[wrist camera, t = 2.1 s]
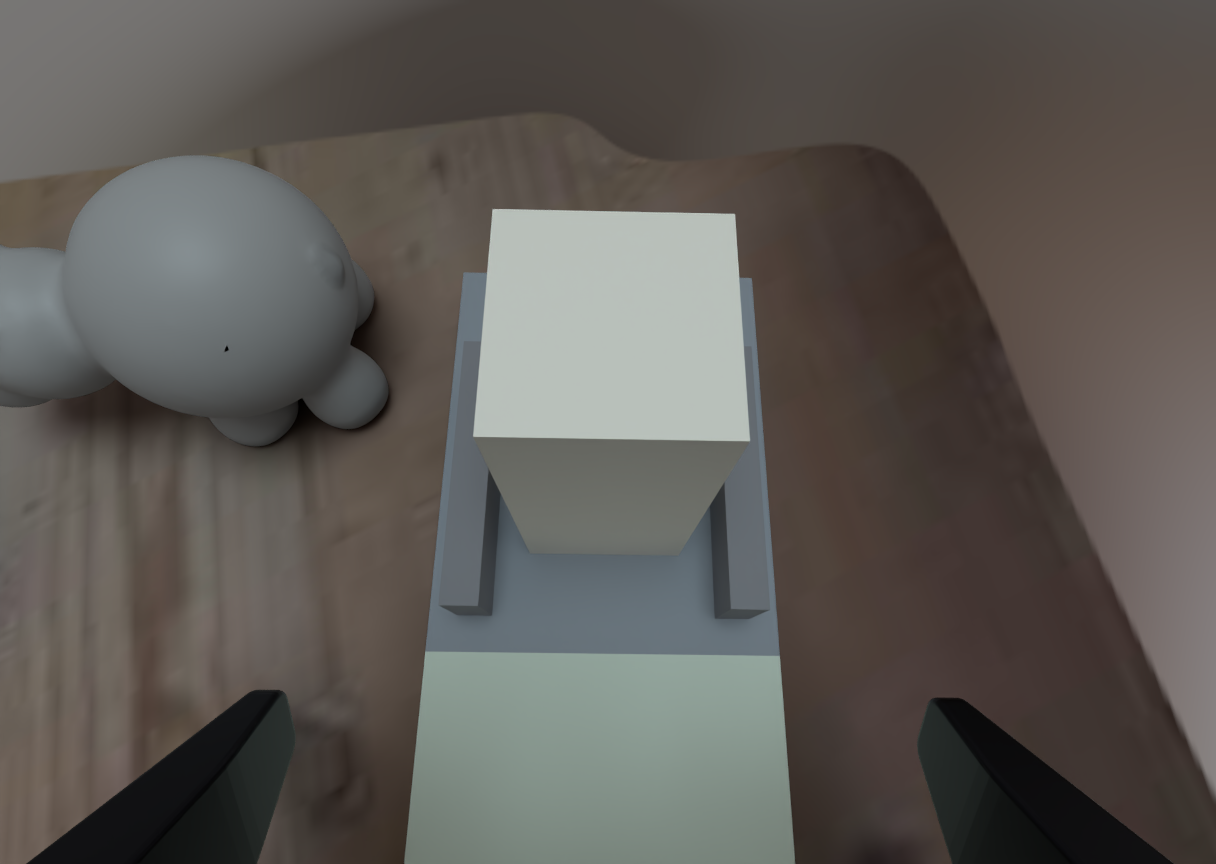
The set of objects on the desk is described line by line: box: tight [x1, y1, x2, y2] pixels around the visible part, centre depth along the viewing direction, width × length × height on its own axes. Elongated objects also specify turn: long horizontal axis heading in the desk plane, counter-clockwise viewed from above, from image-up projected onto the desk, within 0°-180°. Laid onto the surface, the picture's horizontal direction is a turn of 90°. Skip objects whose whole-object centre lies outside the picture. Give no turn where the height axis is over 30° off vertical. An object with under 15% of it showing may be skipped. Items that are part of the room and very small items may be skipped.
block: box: [473, 209, 750, 556], centre depth 16 cm, size 4×4×10 cm
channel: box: [404, 273, 795, 864], centre depth 20 cm, size 22×10×5 cm, turn 179°
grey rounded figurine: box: [0, 156, 389, 446], centre depth 21 cm, size 8×12×9 cm, turn 100°
